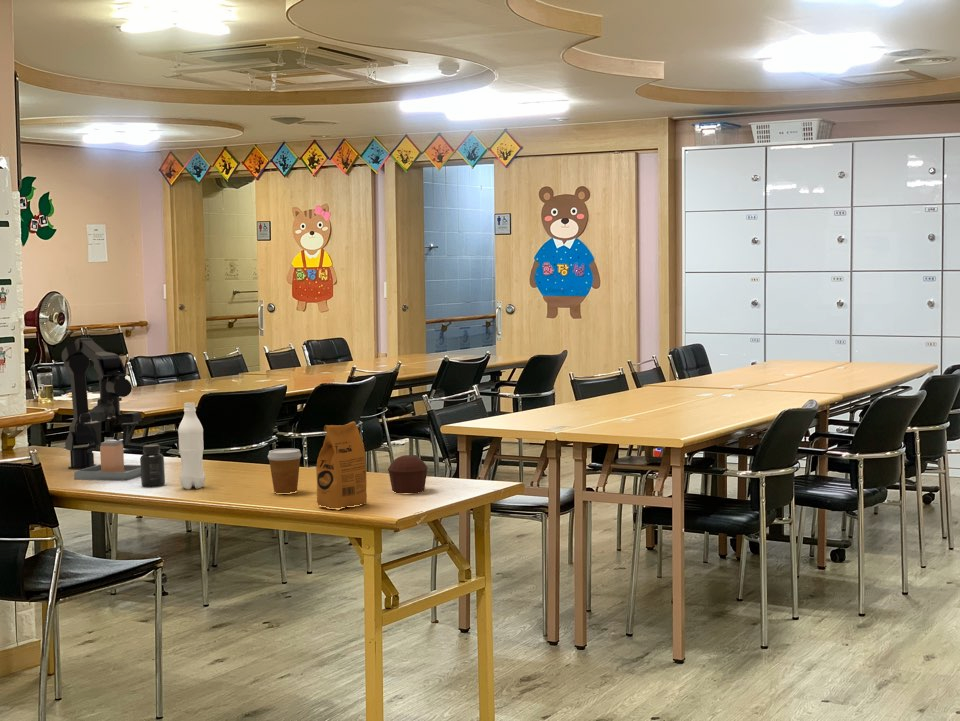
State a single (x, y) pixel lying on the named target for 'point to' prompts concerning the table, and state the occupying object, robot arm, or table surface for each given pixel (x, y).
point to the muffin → (408, 474)
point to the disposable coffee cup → (284, 469)
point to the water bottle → (191, 448)
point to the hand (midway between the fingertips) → (111, 445)
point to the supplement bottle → (152, 467)
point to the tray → (108, 473)
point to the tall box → (112, 456)
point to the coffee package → (341, 467)
